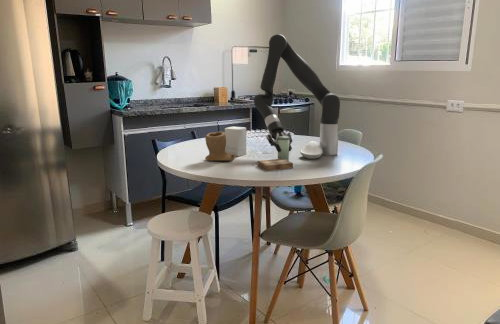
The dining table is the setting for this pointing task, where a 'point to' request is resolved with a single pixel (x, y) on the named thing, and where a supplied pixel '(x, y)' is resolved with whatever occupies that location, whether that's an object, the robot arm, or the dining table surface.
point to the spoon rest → (311, 150)
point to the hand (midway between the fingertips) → (285, 150)
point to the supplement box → (235, 140)
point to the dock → (275, 164)
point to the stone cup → (217, 147)
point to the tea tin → (283, 147)
